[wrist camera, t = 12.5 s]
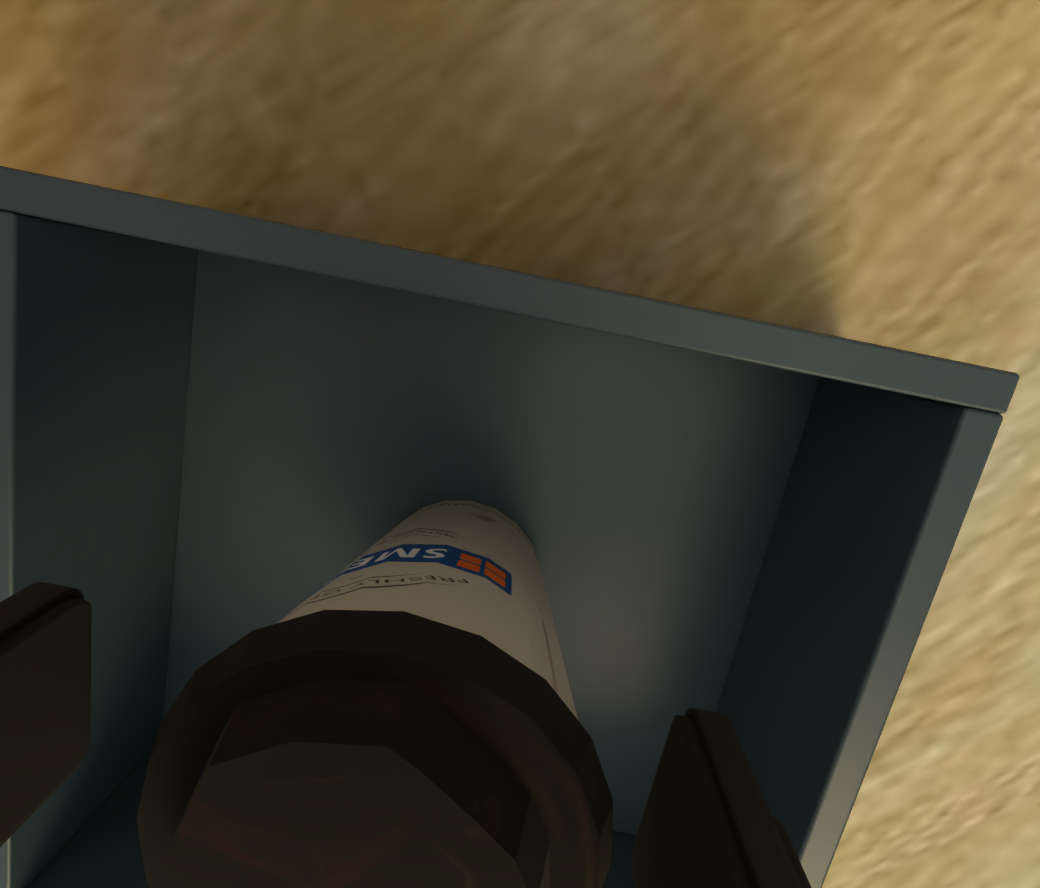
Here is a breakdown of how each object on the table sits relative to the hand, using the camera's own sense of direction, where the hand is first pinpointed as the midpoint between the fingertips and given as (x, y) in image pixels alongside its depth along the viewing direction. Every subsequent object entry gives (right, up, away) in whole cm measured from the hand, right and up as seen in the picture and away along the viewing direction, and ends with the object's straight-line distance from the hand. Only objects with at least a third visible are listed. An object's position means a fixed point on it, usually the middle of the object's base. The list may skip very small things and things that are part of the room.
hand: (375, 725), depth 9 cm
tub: (+1, +1, +8) cm, 8 cm away
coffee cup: (+1, +1, +8) cm, 8 cm away
